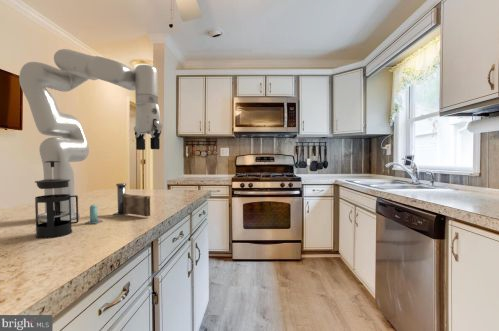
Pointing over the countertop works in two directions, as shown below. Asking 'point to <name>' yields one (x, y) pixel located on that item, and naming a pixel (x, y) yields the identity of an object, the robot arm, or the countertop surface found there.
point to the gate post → (120, 198)
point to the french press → (54, 209)
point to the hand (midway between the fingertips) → (147, 149)
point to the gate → (136, 204)
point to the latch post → (93, 215)
